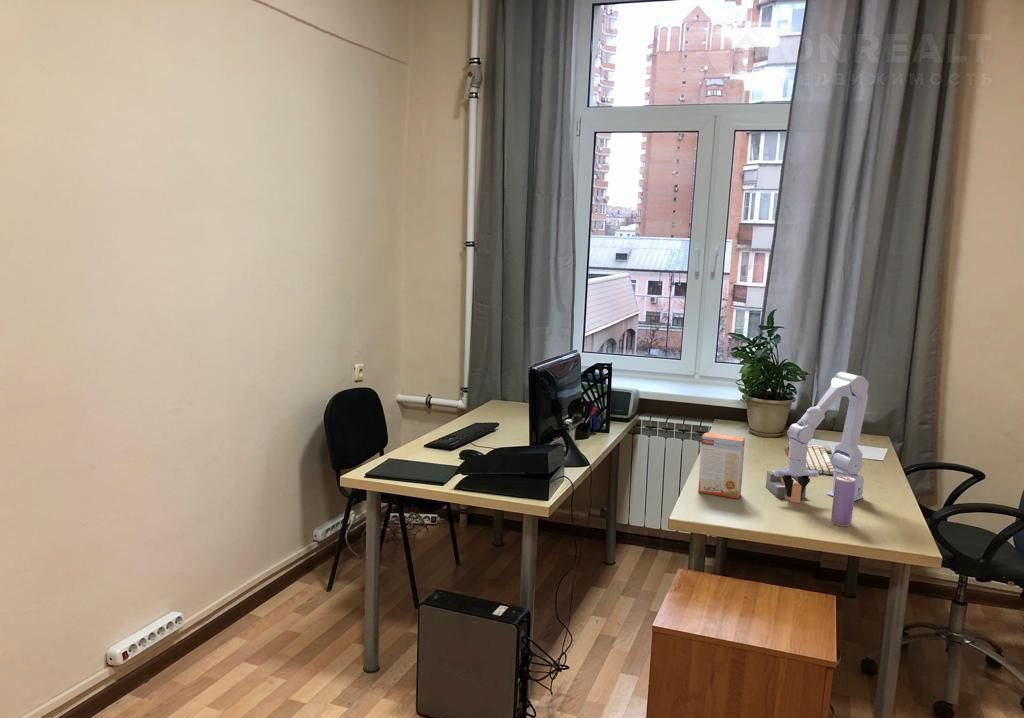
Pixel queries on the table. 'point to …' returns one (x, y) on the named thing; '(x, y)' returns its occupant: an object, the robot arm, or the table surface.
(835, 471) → the robot arm
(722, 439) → the cracker box
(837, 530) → the table surface
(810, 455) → the mechanical keyboard
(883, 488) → the table surface
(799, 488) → the salmon long block
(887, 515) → the table surface
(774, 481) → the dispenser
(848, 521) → the beverage can
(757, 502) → the table surface
